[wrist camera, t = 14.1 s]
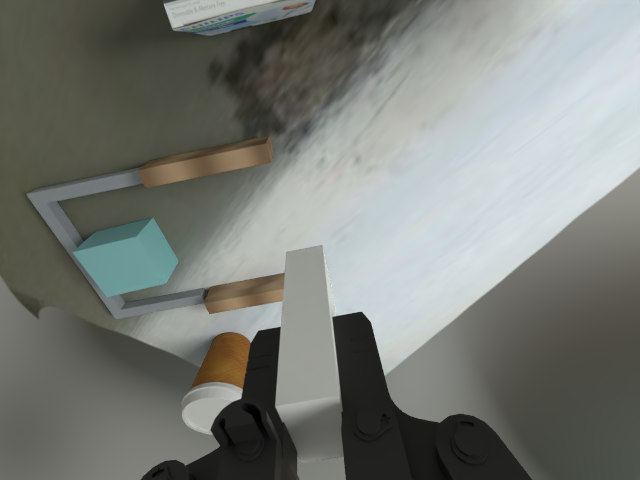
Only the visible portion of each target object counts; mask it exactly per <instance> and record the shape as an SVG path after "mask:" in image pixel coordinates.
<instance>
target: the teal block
mask: <svg viewBox="0 0 640 480" xmlns="http://www.w3.org/2000/svg"><path fill="white" fill-rule="evenodd" d="M72 253H73V254H74V255H75V257H76V258H77V259H78V260H79V262H80V263H81V264H82V266H83V267H84V268H85V269H86V271H87V272H88V273H89V275H90V276H91V277H92V278H93V280H94V281H95V282H96V284H97V285H98V286H99V288H100V289H101V290H102V291H103V293H104V294H105V295H106V297H110V296H114V295H118V294H123V293H127V292H131V291H136V290H140V289H144V288H148V287H153V286H157V285H161V284H166V283H167V281H168V279H169V277H170V276H171V274H172V272H173V270H174V269H175V267H176V265H177V263H178V262H179V261H178V259H177V258H176V256H175V254H174V253H173V251H172V249H171V247H170V246H169V244H168V242H167V240H166V239H165V237H164V235H163V234H162V232H161V230H160V228H159V227H158V225H157V223H156V221H155V220H154V218H149V219H145V220H141V221H137V222H133V223H129V224H125V225H121V226H117V227H113V228H109V229H105V230H101V231H97V232H95V233H93V234H92V235H91V236H90V237H89V238H88V239H87V240H86V241H84V242H83V243H82V244H81V245H80V246H79V247H78V248H77V249H75V250H74V251H73V252H72Z"/></svg>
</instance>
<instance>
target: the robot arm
mask: <svg viewBox="0 0 640 480" xmlns="http://www.w3.org/2000/svg"><path fill="white" fill-rule="evenodd" d="M210 431H211V432H212V434H213V435H214V437H215V438H216V440H217V441H218V443H219V444H220V447H219V448H217V449H216V450H214V451H213V452H211V453H210V454H207V455H206V456H204V457H202V458H200V459H198V460H196V461H194V462H192V463H190V464H188V465H186V466H185V465H184V464H183V463H181V462H179V461H177V460H170V461H164V462H162V463H160V464H158V465H157V466H155V467H153V468H152V469H151V470H150V471H149V472H148V473H147V474H146V475H144V476H143V478H142V479H141V480H299V477H298V476H297V456H298V458H299V460H300V462H301V463H305V462H312V461H318V460H325V459H332V458H338V457H344V464H345V474H346V480H532V479H531V478H530V476H529V475H528V474H527V473H526V471H525V470H524V469H523V467H522V466H521V465H520V464H519V462H518V461H517V459H516V458H515V457H514V456H513V454H512V453H511V452H510V451H509V449H508V448H507V446H506V445H505V444H504V443H503V441H502V440H501V439H500V437H499V436H498V435H497V434H496V432H494V431H493V430H492V428H490V427H489V426H488V425H487V424H486V423H485V422H484V421H482V420H480V419H478V418H476V417H474V416H470V415H464V414H457V415H452V416H449V417H447V418H446V419H444V420H443V421H442V422H440V423H438V422H432V421H427V420H422V419H418V418H414V417H411V416H409V415H407V414H406V413H404V412H402V411H401V410H400V409H399V408H398V407H397V406H396V405H395V404H394V402H393V401H392V400H391V397H390V395H389V392H388V388H387V384H386V380H385V376H384V372H383V369H382V365H381V361H380V357H379V353H378V349H377V345H376V341H375V337H374V333H373V329H372V325H371V322H370V321H369V320H368V318H367V317H366V316H365V315H364V314H363V313H362V312H357V313H352V314H346V315H340V316H336V310H335V302H334V295H333V290H332V286H331V281H330V277H329V272H328V268H327V263H326V259H325V254H324V250H323V245H320V246H315V247H310V248H305V249H299V250H294V251H289V252H286V263H285V277H284V291H283V305H282V318H281V327H278V328H272V329H266V330H261V331H258V332H257V334H256V336H255V337H254V339H253V341H252V342H251V344H250V349H249V355H248V361H247V367H246V373H245V379H244V385H243V390H242V396H241V399H239V400H236V401H233V402H231V403H230V404H229V405H227V406H226V407H225V408H223V409H222V410H221V412H220V413H219V414H218V415H217V417H216V418H215V419H214V422H213V424H212V427H211V429H210Z"/></svg>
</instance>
